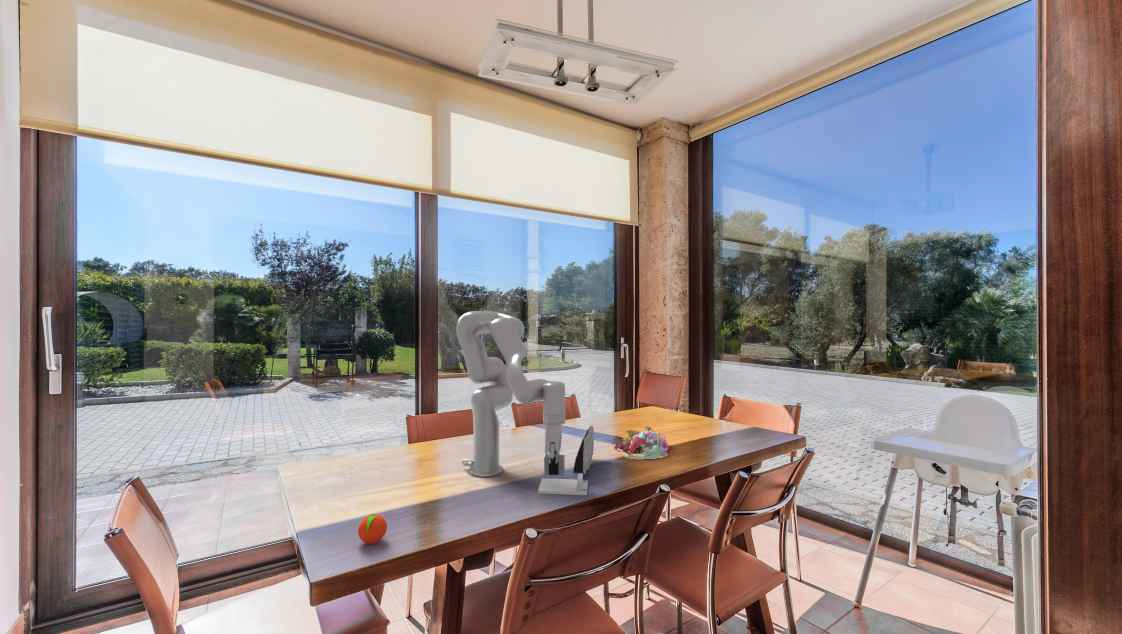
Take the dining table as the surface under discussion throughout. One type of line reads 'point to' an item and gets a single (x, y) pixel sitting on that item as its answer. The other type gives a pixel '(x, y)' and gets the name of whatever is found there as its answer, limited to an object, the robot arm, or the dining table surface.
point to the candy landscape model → (643, 445)
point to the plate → (564, 486)
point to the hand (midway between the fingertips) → (554, 471)
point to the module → (560, 464)
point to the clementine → (372, 528)
